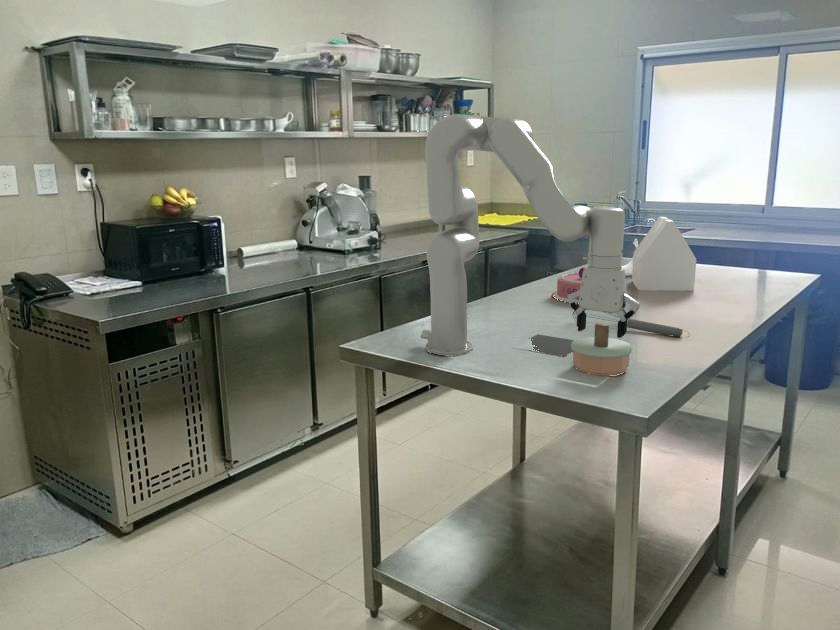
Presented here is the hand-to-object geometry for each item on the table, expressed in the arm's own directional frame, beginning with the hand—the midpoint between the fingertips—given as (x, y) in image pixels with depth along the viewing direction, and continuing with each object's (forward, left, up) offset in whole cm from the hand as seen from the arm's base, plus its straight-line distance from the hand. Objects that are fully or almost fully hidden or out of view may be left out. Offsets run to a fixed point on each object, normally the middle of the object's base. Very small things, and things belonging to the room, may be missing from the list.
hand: (600, 333), depth 158 cm
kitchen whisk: (-7, +37, -9) cm, 39 cm away
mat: (-18, +10, -9) cm, 22 cm away
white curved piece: (-36, +113, -9) cm, 119 cm away
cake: (-33, +71, -9) cm, 79 cm away
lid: (0, 0, -4) cm, 4 cm away
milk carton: (-17, +102, -9) cm, 104 cm away
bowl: (0, 0, -9) cm, 9 cm away
